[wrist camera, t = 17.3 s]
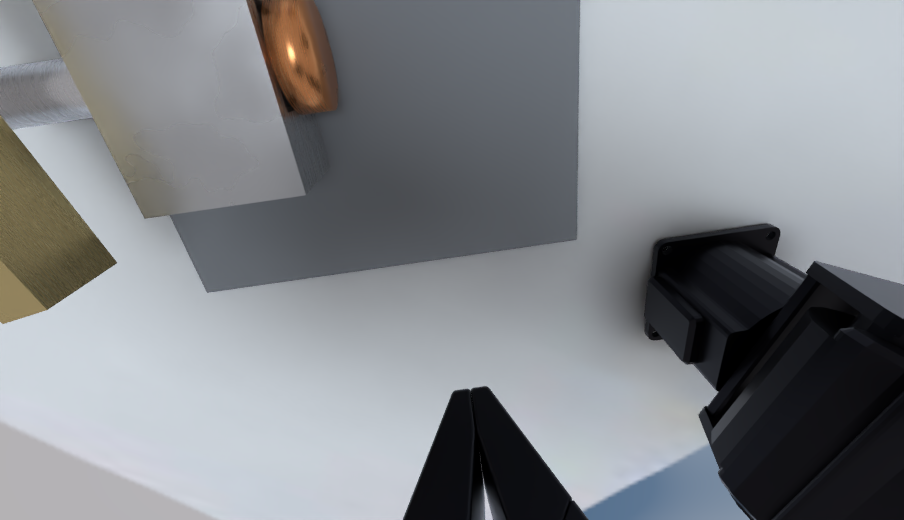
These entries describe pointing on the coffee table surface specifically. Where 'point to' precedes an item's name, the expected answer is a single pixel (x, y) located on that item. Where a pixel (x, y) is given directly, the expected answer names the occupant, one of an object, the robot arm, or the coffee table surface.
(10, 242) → the keeper
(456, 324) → the coffee table surface
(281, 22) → the lynch pin
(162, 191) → the block
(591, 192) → the coffee table surface
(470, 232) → the mat
